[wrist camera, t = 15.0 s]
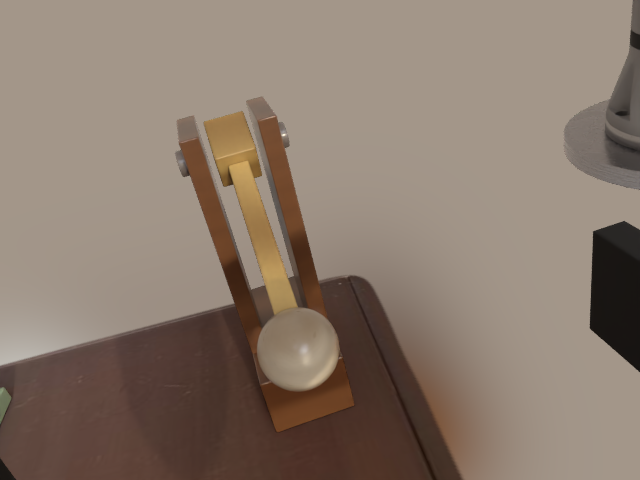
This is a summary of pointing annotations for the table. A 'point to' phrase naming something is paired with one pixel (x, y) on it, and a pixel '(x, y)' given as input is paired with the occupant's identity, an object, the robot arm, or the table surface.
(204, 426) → the table surface
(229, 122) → the switch lever
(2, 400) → the button box
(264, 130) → the switch bracket
